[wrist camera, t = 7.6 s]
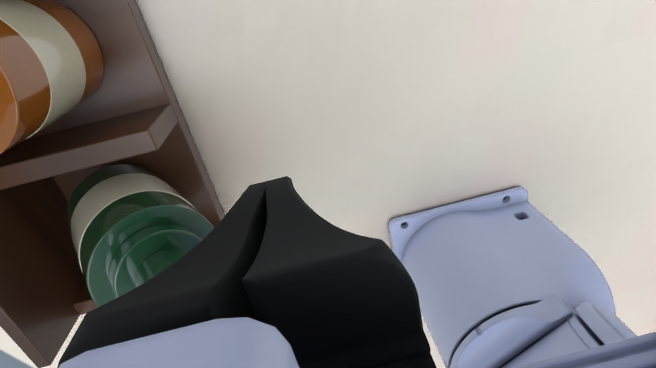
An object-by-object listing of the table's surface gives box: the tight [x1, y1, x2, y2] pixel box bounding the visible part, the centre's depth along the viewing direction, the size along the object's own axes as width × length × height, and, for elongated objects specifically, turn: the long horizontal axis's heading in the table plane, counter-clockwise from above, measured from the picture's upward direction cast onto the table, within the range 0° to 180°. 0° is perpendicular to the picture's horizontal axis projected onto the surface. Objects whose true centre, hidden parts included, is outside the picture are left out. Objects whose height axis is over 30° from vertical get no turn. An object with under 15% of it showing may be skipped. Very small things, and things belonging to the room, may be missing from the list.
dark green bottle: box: [67, 164, 214, 307], centre depth 17 cm, size 5×5×10 cm
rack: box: [0, 0, 225, 368], centre depth 17 cm, size 8×16×8 cm, turn 12°
